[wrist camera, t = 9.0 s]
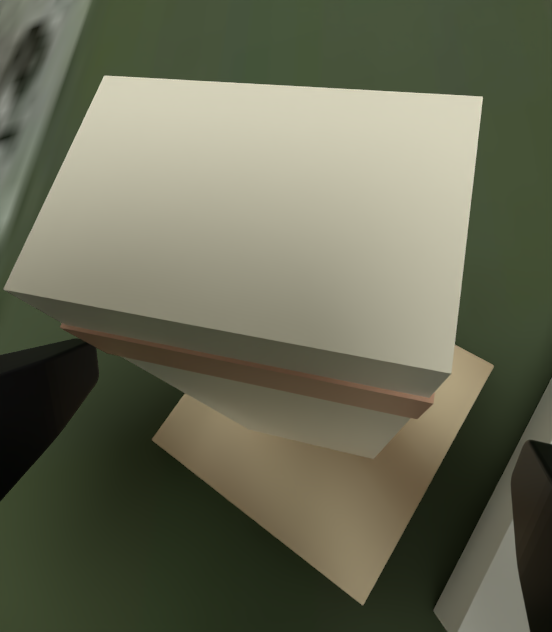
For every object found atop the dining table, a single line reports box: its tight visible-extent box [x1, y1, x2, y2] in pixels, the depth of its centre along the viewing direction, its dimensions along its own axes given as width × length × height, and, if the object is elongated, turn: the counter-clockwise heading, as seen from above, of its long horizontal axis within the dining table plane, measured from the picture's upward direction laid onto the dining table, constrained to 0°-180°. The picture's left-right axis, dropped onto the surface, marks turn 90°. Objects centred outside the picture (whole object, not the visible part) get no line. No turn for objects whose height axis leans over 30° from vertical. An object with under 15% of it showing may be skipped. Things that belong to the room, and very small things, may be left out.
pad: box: [152, 345, 494, 605], centre depth 17 cm, size 9×9×1 cm
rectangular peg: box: [3, 76, 483, 459], centre depth 10 cm, size 3×5×12 cm
